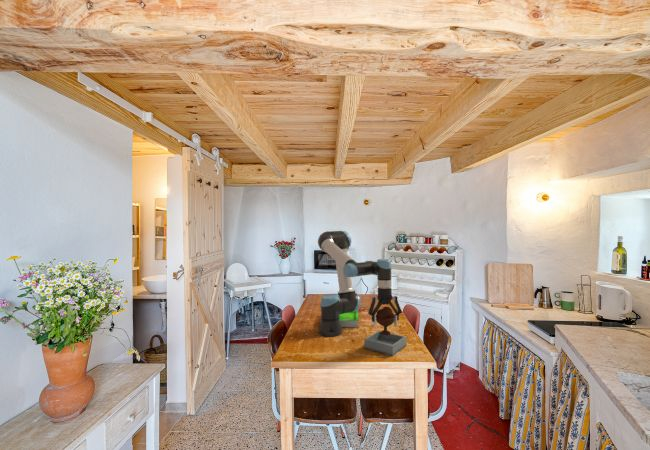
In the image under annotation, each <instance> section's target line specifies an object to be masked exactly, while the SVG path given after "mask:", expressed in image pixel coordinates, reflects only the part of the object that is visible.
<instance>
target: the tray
mask: <svg viewBox="0 0 650 450" xmlns="http://www.w3.org/2000/svg"><path fill="white" fill-rule="evenodd" d="M339 320H340V323H341V327H342V328H359V309H358V310H357V311H354V312H349V313H344V314H339Z"/></svg>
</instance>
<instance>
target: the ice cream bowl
mask: <svg viewBox="0 0 650 450" xmlns="http://www.w3.org/2000/svg"><path fill="white" fill-rule="evenodd" d="M392 310H393V309H392V308H391V306H383V307H382V308H379V309H378V311H377V313H376V314H375V316H376V323H377V324H379V325H380V326H382V327H383V330H380V331H381V334H382V335H390V333H391V331H389V330H388V327H390V326H392V325H394V320H395V316H394V314H395V313H394V312H393V311H392Z"/></svg>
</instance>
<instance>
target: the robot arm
mask: <svg viewBox="0 0 650 450" xmlns="http://www.w3.org/2000/svg"><path fill="white" fill-rule="evenodd" d="M317 245H318V247H319V248H320V250H321V251H322V252H324V253H327V254H328V255H329V256H330V257H331V258H332V259H333V260H334V261H335V267H336V273H337V281H338V289H339V290H338V291H337V293H328V294H327V293H326V294H325V295H323V296H322V297H321V299H320V322H319V326H318V334H319V335H320V336H324V337H337V336H340V335H342V334H343V327H341V323H340V320H339V314H344V313H349V312H354V311H357V310H358V311H359V308H360V306H361V296H360V295H359V294H358V293H356V290H355V289H354V288H353V285H352V278H357V277H363V276H371V275H372V276H373V275H374V276H377V296H372V297H371V300H372V301H371V303H370V306H369V309H368V315H369V316H371V322H372V323H373V328H374V329H377V321H376V314H377V312H378V310H380V309H381V307H382V305H389V307H390V308H391V310H393V314H394V316H395V320H394V323H393V325H394V327H395V328H397V327H398V321H399V320H400V319H399V316H400V314H403V312H402V309H401V306H400V304H399V301H398V296H397V295H394V296H393V294H392V262H391V259H388V258H380V259H377V260H376V261H372V260H365V261H363V262H356V260H354V259H353V258H352V257H351V256H350V255H348V251H350V247H351V245H352V238H351V235H350V233H348V232H347V231H345V230H333V231H324V232H322V233H321V234H320V235H319V237H318V239H317ZM392 300H393V301H394V304H393V302H392ZM376 301H378V302H377V304H376ZM375 305H376V306H375ZM394 305H395V306H396V307H395V306H394Z"/></svg>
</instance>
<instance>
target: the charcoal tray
mask: <svg viewBox="0 0 650 450" xmlns="http://www.w3.org/2000/svg"><path fill="white" fill-rule="evenodd" d="M381 331H382V330H378V331H376V332H373V334H371V335H369V336H367V337H365V338H364V339H363V346H364V347H363V348H364V349H365V350H368V351H373V352H376V353H380V354H383V355H387V356H391V357H393V356H395V355H397V353H399V352H400V351H402V350H403V349H404V348H406V347H407V336H405V335H401V334H396V333H391V332H390V335H382V334H381Z"/></svg>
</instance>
